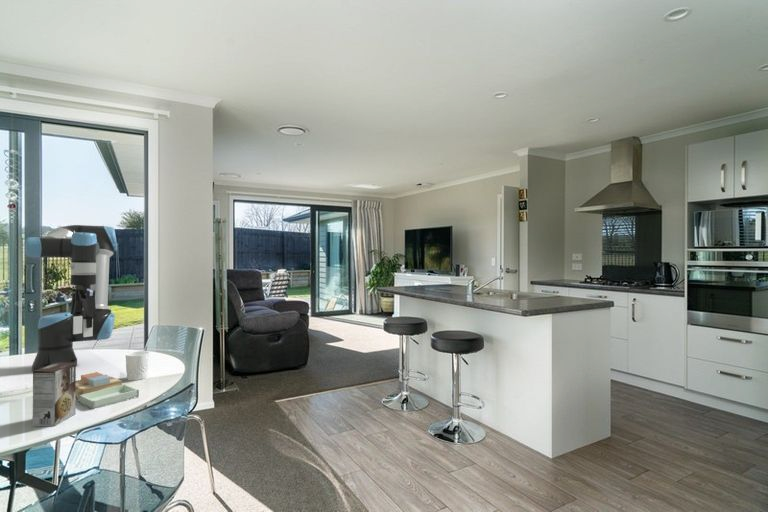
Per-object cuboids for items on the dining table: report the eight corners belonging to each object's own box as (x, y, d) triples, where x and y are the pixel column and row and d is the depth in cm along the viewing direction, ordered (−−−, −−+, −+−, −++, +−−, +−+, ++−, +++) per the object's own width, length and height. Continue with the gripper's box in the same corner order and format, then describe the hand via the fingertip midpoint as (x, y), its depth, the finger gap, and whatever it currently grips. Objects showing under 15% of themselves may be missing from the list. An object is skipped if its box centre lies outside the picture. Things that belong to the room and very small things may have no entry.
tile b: (87, 383, 141) (87, 378, 141) (103, 380, 145) (103, 374, 145) (93, 386, 138) (93, 380, 138) (109, 382, 143) (110, 377, 143)
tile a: (80, 380, 144) (80, 375, 144) (96, 377, 148) (96, 372, 148) (86, 383, 141) (86, 377, 141) (102, 379, 146) (103, 374, 146)
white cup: (137, 382, 156) (137, 356, 156) (120, 380, 158) (120, 355, 158) (152, 376, 164) (153, 351, 164) (136, 374, 166) (136, 350, 166)
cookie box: (54, 414, 124) (55, 362, 124) (76, 414, 125) (77, 362, 125) (30, 426, 115) (31, 370, 115) (54, 426, 116) (55, 370, 116)
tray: (79, 402, 134) (79, 395, 134) (124, 391, 146) (125, 384, 146) (92, 409, 129) (92, 401, 129) (138, 396, 140) (138, 389, 140)
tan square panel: (67, 393, 142) (67, 382, 142) (105, 385, 152) (105, 374, 152) (82, 401, 135) (83, 389, 135) (121, 391, 145) (122, 380, 145)
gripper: (60, 273, 152) (59, 333, 152) (84, 275, 141) (82, 340, 141) (83, 272, 159) (82, 330, 158) (108, 274, 147) (107, 336, 147)
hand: (82, 335), depth 150 cm, fingers open, 8 cm apart
